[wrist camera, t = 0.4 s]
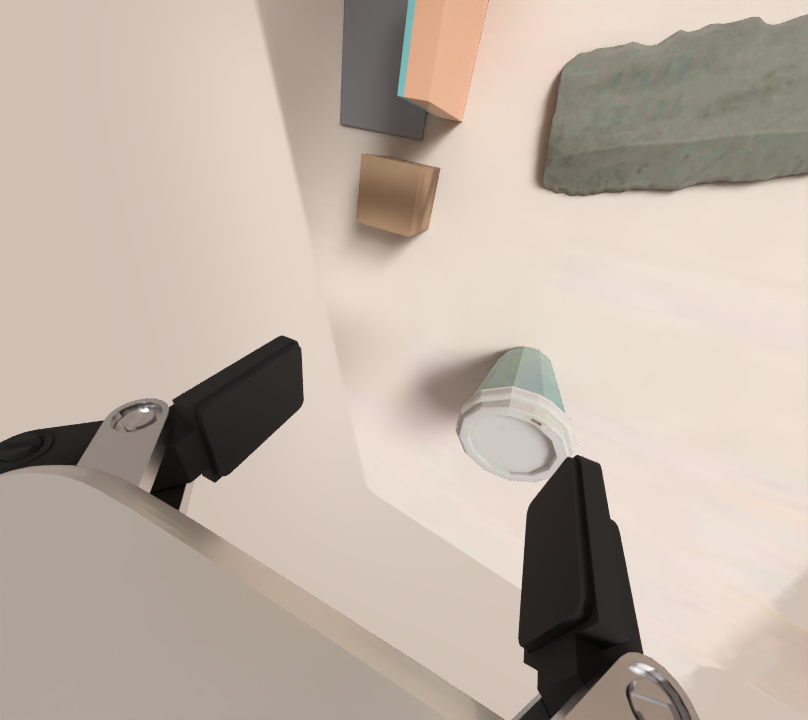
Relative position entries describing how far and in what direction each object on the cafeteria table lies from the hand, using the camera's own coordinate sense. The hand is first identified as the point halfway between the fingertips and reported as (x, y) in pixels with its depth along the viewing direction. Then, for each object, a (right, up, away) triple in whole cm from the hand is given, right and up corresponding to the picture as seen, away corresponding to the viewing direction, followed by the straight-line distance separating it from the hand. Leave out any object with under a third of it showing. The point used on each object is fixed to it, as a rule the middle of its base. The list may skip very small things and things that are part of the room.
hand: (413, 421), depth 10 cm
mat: (-2, +32, +17) cm, 36 cm away
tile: (+5, +29, +16) cm, 34 cm away
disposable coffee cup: (+15, +1, +28) cm, 32 cm away
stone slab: (+23, +21, +13) cm, 34 cm away
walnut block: (0, +21, +23) cm, 31 cm away
